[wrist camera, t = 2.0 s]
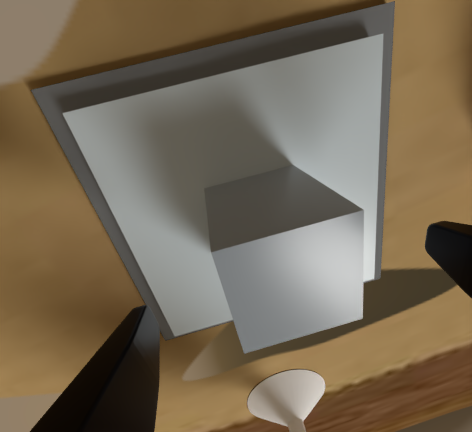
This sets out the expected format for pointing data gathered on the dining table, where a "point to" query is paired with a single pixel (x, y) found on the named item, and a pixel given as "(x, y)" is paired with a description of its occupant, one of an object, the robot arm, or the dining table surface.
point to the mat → (202, 66)
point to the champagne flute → (287, 398)
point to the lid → (249, 190)
